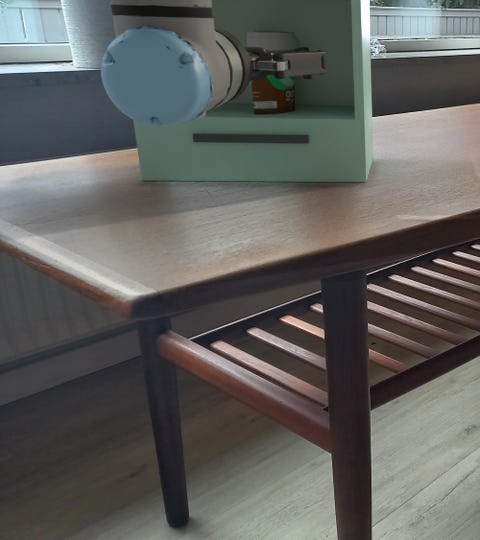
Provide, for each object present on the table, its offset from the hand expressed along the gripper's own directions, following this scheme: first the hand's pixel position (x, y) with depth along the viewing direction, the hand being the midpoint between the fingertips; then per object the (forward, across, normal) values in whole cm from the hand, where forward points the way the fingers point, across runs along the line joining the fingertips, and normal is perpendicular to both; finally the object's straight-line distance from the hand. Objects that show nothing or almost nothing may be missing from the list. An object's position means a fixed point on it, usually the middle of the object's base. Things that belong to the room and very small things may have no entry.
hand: (251, 57), depth 87 cm
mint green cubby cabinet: (+4, 0, -15) cm, 16 cm away
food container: (+4, +2, -7) cm, 9 cm away
